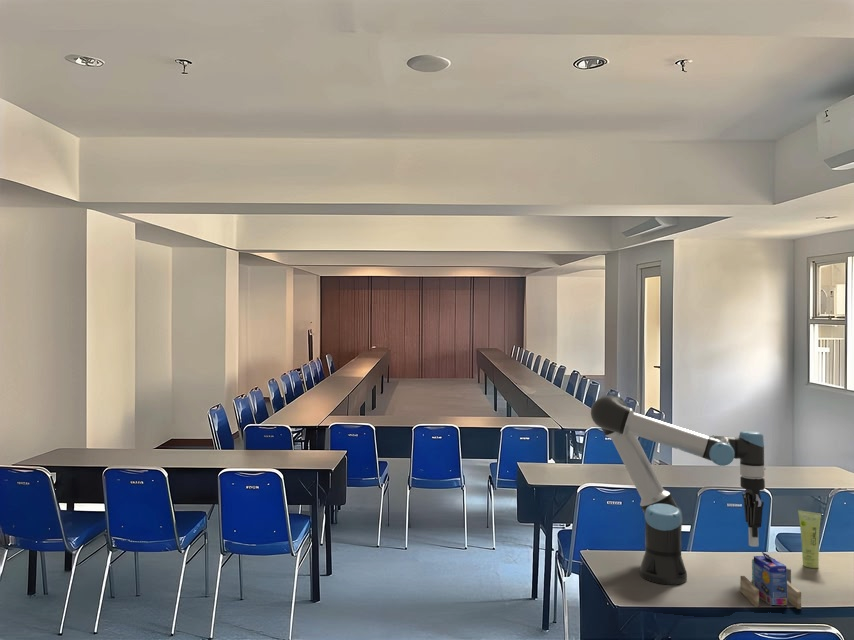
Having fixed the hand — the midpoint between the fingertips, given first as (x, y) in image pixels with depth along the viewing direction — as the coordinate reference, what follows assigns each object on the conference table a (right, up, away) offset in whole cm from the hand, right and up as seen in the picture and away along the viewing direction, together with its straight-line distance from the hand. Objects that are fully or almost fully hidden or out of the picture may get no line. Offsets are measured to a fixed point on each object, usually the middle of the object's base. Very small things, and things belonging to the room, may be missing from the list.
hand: (753, 545), depth 226 cm
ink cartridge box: (-5, -10, -21) cm, 24 cm away
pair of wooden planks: (-5, -10, -21) cm, 23 cm away
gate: (+1, -10, -10) cm, 14 cm away
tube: (+26, -11, +11) cm, 30 cm away
